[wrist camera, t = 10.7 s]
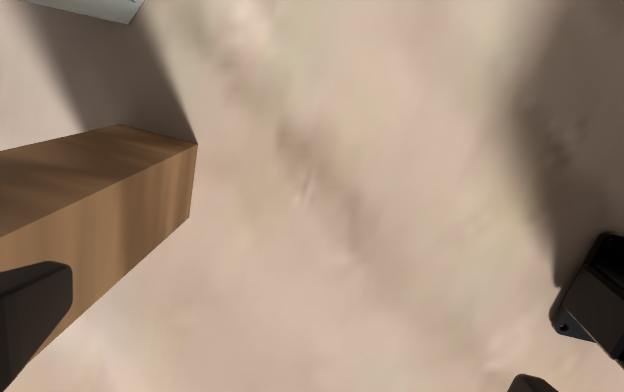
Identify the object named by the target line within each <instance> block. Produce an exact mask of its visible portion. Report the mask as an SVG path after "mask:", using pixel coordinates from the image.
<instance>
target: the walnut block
mask: <svg viewBox="0 0 624 392" xmlns="http://www.w3.org/2000/svg"><path fill="white" fill-rule="evenodd" d="M197 147H198V144H194V143H190V142H186V141H182V140H178V139H174V138H170V137H166V136H163V135H159V134H155V133H151V132H147V131H143V130H139V129H135V128H131V127H127V126H123V125H115V126H110V127H106V128H101V129H97V130H92V131H88V132H84V133H79V134H75V135H70V136H66V137H61V138H57V139H52V140H48V141H43V142H39V143H34V144H30V145H25V146H21V147H17V148H12V149H8V150H3V151H0V272H2V271H7V270H11V269H15V268H19V267H23V266H27V265H31V264H35V263H39V262H43V261H56V262H60V263H64V264H68V265H69V266H71V268H72V270H73V303H72V306H71V308H70V310H69V311H68V313H67V314H66V315H65V317H64V318H63V319H62V320H61V322H60V323H59V324H58V325H57V327H56V328H55V329H54V330H53V332H52V333H51V334H50V335H49V337H48V338H47V339H46V341H45V342H44V343H43V344H42V346H41V347H40V348H39V349H38V351H37V352H36V353H35V354H34V356H33V357H32V358H31V359H30V361H31V360H32V359H33V358H34V357H35V356H36V355H37V354H38V353H40V352H41V351H42V350H43V349H44V348H45V347H46V346H47V345H48V344H50V343H51V342H52V341H53V340H54V339H55V338H56V337H57V336H58V335H60V334H61V333H62V332H63V331H64V330H65V329H66V328H67V327H68V326H69V325H71V324H72V323H73V322H74V321H75V320H76V319H77V318H78V317H79V316H81V315H82V314H83V313H84V312H85V311H86V310H87V309H88V308H89V307H90V306H92V305H93V304H94V303H95V302H96V301H97V300H98V299H99V298H100V297H102V296H103V295H104V294H105V293H106V292H107V291H108V290H109V289H110V288H112V287H113V286H114V285H115V284H116V283H117V282H118V281H119V280H120V279H121V278H123V277H124V276H125V275H126V274H127V273H128V272H129V271H130V270H131V269H133V268H134V267H135V266H136V265H137V264H138V263H139V262H140V261H141V260H142V259H144V258H145V257H146V256H147V255H148V254H149V253H150V252H151V251H152V250H154V249H155V248H156V247H157V246H158V245H159V244H160V243H161V242H162V241H163V240H165V239H166V238H167V237H168V236H169V235H170V234H171V233H172V232H173V231H175V230H176V229H177V228H178V227H179V226H180V225H181V224H182V223H183V222H185V221H186V220H187V219H188V218H189V212H190V204H191V196H192V188H193V180H194V172H195V163H196V155H197ZM30 361H29V362H30ZM29 362H28V363H29Z"/></svg>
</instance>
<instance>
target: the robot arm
mask: <svg viewBox="0 0 624 392" xmlns="http://www.w3.org/2000/svg"><path fill="white" fill-rule="evenodd" d="M610 239H612V241H611V242H610V243H609V244H607V242H608V240H610ZM72 303H73V270H72V268H71V266H69V265H68V264H64V263H60V262H56V261H43V262H39V263H35V264H31V265H27V266H23V267H19V268H15V269H11V270H7V271H2V272H0V392H3V391H4V390H5V389H6V388H7V387H8V386H9V385H10V384H11V383H12V381H13V380H14V379H15V378H16V377H17V375H18V374H19V373H20V372H21V371H22V370H23V368H24V367H25V366H26V365H27V363H28V362H29V361H30V359H31V358H32V357H33V356H34V354H35V353H36V352H37V351H38V349H39V348H40V347H41V346H42V344H43V343H44V342H45V341H46V339H47V338H48V337H49V335H50V334H51V333H52V332H53V330H54V329H55V328H56V327H57V325H58V324H59V323H60V322H61V320H62V319H63V318H64V317H65V315H66V314H67V313H68V311H69V310H70V308H71V306H72ZM551 324H552V327H553V328H554V329H555V331H556V332H557V333H558V334H561V335H565V336H569V337H573V338H577V339H582V340H586V341H590V342H594V343H597V344H598V345H599V346H600V347H601V348H602V349H603V351H604V352H605V353H606V354H607V355H608V356H609V357H610V358H611V359H613V360H615V361H616V362H617V363H618V364H619V365H620V366H621V367H622V368H623V369H624V234H620V233H615V232H610V231H607V232H603V233H602V234H600V235H599V236H598V237H597V239H596V241H595V243H594V245H593V247H592V248H591V250H590V252H589V254H588V256H587V258H586V259H585V261H584V263H583V265H582V267H581V269H580V271H579V272H578V274H577V276H576V278H575V280H574V282H573V283H572V285H571V287H570V289H569V291H568V293H567V294H566V296H565V298H564V300H563V302H562V304H561V306H560V307H559V309H558V311H557V313H556V315H555V317H554V318H553V320H552V323H551ZM563 324H565V325H564V326H561V325H563ZM560 326H561V327H560ZM507 392H558V391H557V390H556V389H554V388H553V387H552V386H551V385H550V384H548V383H547V382H546V381H545V380H543V379H541V378H539V377H535V376H531V375H526V374H518V375H517V376H516V377H515V378H514V380H513V382H512V384H511V385H510V387H509V389H508V391H507Z"/></svg>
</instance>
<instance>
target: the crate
mask: <svg viewBox="0 0 624 392" xmlns="http://www.w3.org/2000/svg"><path fill="white" fill-rule="evenodd" d="M20 1H25V2H29V3H34V4H38V5H43V6H47V7H52V8H56V9H61V10H65V11H70V12H74V13H78V14H83V15H87V16H92V17H96V18H101V19H105V20H110V21H114V22H119V23H123V24H129V22H130V21H131V19H132V18H133V16H134V15H135V13H136V12H137V10H138V9H139V7H140V6H141V5H142V3H143V2H144V0H20Z"/></svg>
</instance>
